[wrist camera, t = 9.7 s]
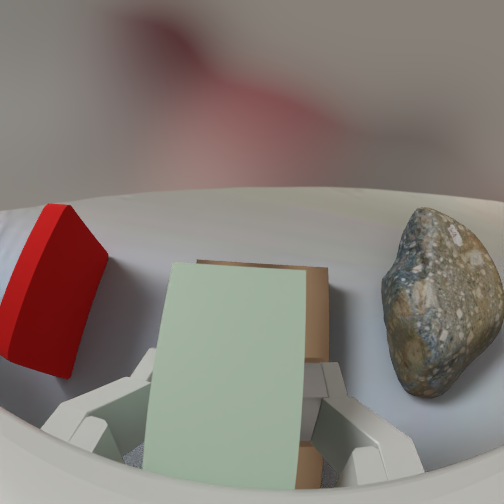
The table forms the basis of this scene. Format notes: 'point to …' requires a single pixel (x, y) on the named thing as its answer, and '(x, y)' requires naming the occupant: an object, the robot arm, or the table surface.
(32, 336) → the red slab
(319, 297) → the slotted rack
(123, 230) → the table surface
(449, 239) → the stone
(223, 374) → the pale green block
